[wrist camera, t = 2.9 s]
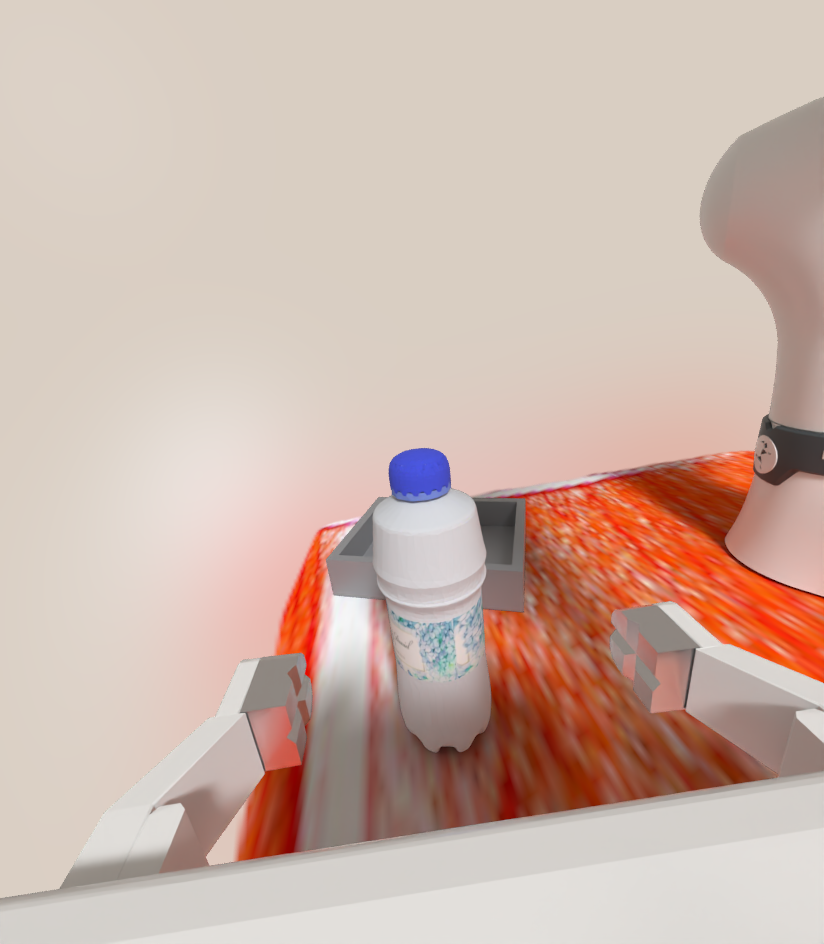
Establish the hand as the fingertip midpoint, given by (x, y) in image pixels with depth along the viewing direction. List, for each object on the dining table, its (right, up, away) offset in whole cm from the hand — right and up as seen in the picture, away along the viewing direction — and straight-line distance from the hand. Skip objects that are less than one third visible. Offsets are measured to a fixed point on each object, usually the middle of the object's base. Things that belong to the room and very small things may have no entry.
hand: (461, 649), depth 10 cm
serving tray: (+2, -6, +37) cm, 38 cm away
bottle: (+1, -13, +18) cm, 22 cm away
